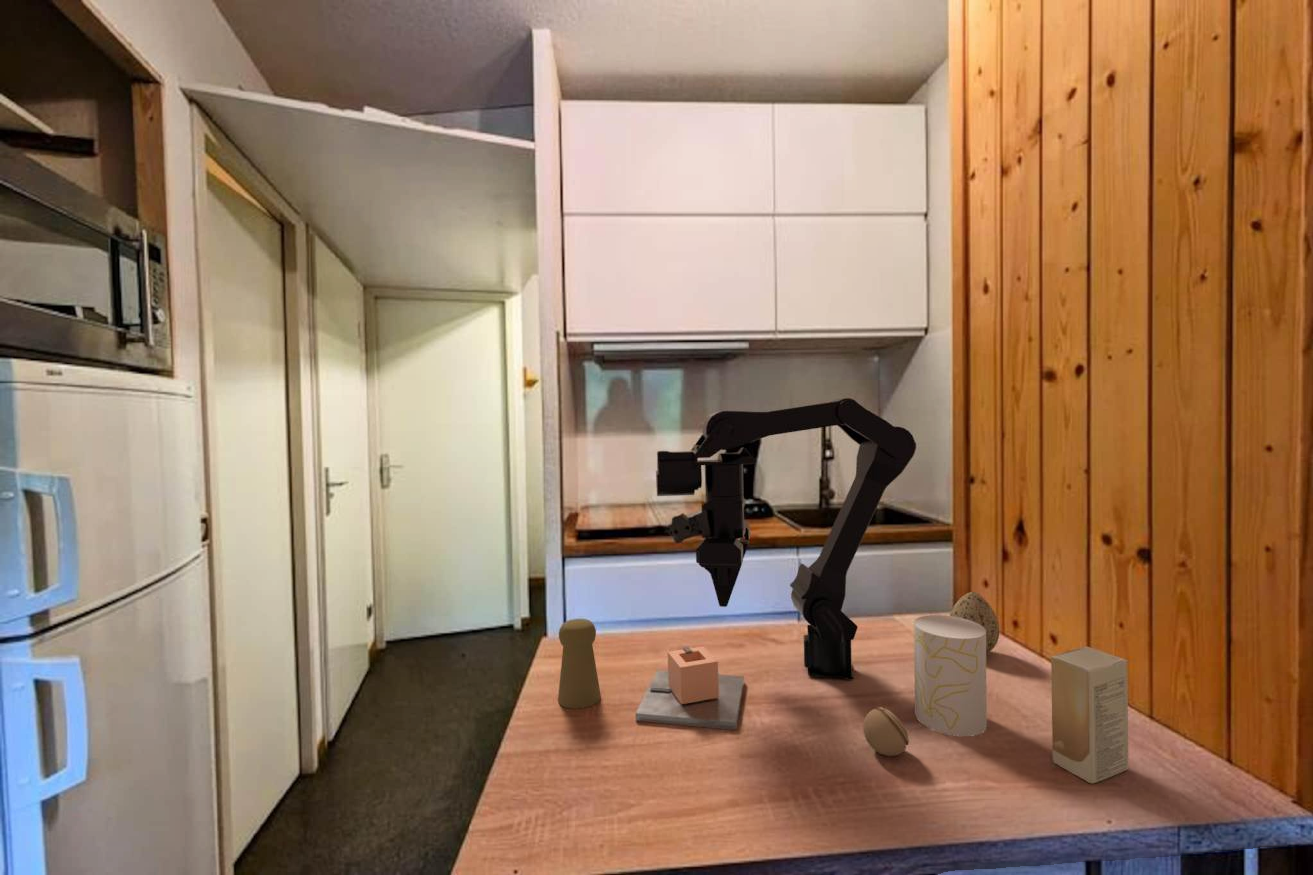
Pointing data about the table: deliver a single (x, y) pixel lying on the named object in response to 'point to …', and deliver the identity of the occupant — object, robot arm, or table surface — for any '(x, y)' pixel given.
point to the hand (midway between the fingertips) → (726, 596)
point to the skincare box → (1090, 713)
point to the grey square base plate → (692, 704)
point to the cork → (578, 665)
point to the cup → (950, 674)
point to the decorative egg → (978, 616)
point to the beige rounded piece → (885, 732)
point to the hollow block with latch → (693, 675)
